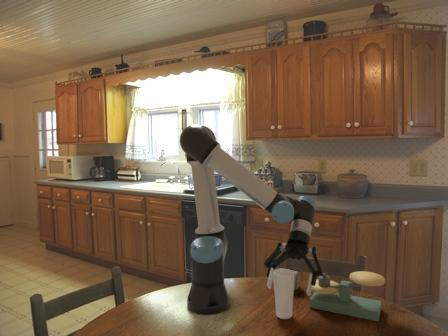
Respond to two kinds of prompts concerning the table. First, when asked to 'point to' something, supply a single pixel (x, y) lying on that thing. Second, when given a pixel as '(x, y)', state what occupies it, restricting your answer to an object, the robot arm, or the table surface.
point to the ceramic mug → (296, 279)
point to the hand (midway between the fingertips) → (287, 290)
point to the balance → (347, 295)
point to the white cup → (284, 292)
